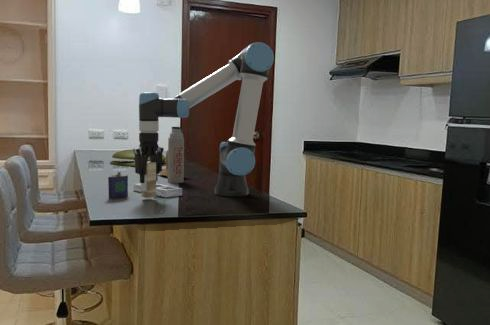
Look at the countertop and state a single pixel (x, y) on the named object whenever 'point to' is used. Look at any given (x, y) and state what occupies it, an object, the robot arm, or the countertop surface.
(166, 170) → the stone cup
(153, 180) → the birch peg
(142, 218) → the countertop surface
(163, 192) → the white compartment tray
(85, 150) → the countertop surface
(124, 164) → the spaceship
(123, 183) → the flask
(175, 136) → the thermos bottle
